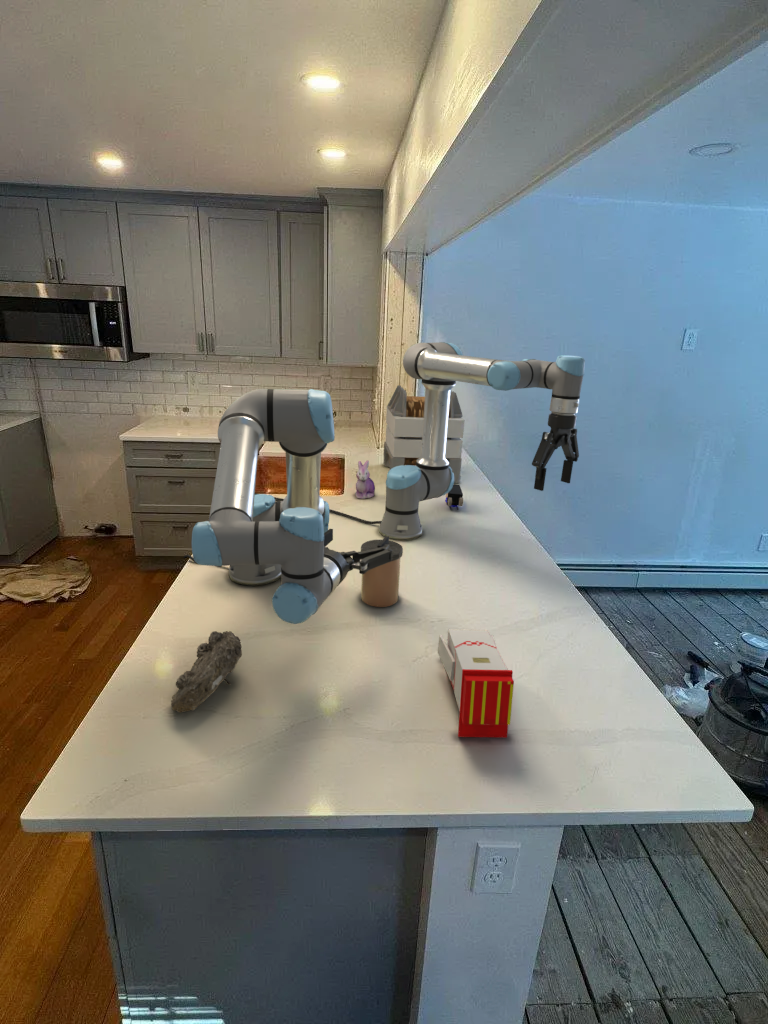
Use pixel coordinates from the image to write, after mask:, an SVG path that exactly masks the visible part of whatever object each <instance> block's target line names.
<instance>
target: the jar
mask: <svg viewBox="0 0 768 1024" xmlns="http://www.w3.org/2000/svg"><path fill="white" fill-rule="evenodd" d="M400 572H401V558H399V559H397V560H395V561H391V562H388V563H386V564H383V565H381V566H378V567H376V568H373V569H371V570H368V571H367V572H366V573H365V574H361V587H360V588H361V590H360V600H361V601H362V602H363V603H364V604H366V605H368V606H370V607H375V608H385V607H386V608H387V607H390V606H393V605H395V604H396V603H397V602H398V600H399V593H400V592H399V590H400Z"/></svg>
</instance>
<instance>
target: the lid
mask: <svg viewBox="0 0 768 1024" xmlns="http://www.w3.org/2000/svg"><path fill="white" fill-rule="evenodd" d="M382 540H383V539H371V540H368V541H365V542H363V543H362V544H361V546H360V551H365V550H370V549H375V548H377V545H378V544H379V543H380V542H381V541H382ZM389 549H391V550H392V561H395V560H397V559H399V558H400V559H401V558H402V557H403V553H404V549H403V546H402V545H401V544H400V543H399V542H397V541H394V540H391V539H389Z"/></svg>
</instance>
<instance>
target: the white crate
mask: <svg viewBox="0 0 768 1024" xmlns="http://www.w3.org/2000/svg"><path fill="white" fill-rule="evenodd" d="M407 394H408V393H407V390H406V389H404V388H403V387H402V385H399V384H398V385H397V386H396V388H395V390H394V392H393V394H392V395H391V398H390V400H389V402H388V404H387V405H386V413H385V414H386V415H385V423H386V428H385V438H384V442H383V466H384V467H388V468H389V470H390V469H392V468H394V467H396V466H401V465H404V466H405V465H413V466H416V461H417V459H418V458H420V457H421V449H422V434H423V419H424V404H425V396H415V395H414V396H413V395H412V396H411V395H407ZM464 429H465V419H464V418H463V411H462V408H461V405H460V402H459V398H458V395H457V392H455V391H453V390H451V392H450V404H449V416H448V428H447V441H446V453H445V458H446V459H447V461H448V462H449V466H450V467H451V469H452V473H454V484H459V483H461V472H462V461H463V460H462V453H463V442H464V441H463V440H462V439H463V438H464V431H465V430H464Z"/></svg>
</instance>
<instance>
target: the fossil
mask: <svg viewBox="0 0 768 1024" xmlns="http://www.w3.org/2000/svg"><path fill="white" fill-rule="evenodd" d="M242 647H243V646H242V642H241V638H240V637H239V636H237V635H235V633H234V632H233V631H231V630H229V631H223V632H221V631H220V632H219V631H217V630H213V631H211V632H210V635H209V636H208V642H204V643H200V644H199V645H198V646H197V648H196V659H195V661H194V662H193V665H192V666H191V669H190V670H185V671H184V672H183V674H181V675H179V676H178V677H177V678H176V681H175V687H176V688H177V689H178V690H177V691H176V692H175V693H174V694H173V695H172V697H171V701H170V702H171V709H172V711H176V712H178V713H185V712H189V711H195V710H196V709H197V708H198V707H199V706H200V705H202V703H204V702H205V701H206V700H207V699H208V698H209V697H210V696H211V695H212V694H213V693H214V692H215V691H217V689H218V688H219V686H220V684H221V683H223V681H224V682H225V683H226V684H227V685H228V686H230V685H231V684H232V683H231V682H230V680H229V679H227V678H226V677H227V676H228V674H230V673H232V672H233V671H234V669H235V668H236V665H237V663H238V661H239V659H241V658H242V655H243V650H242V649H243V648H242Z"/></svg>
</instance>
